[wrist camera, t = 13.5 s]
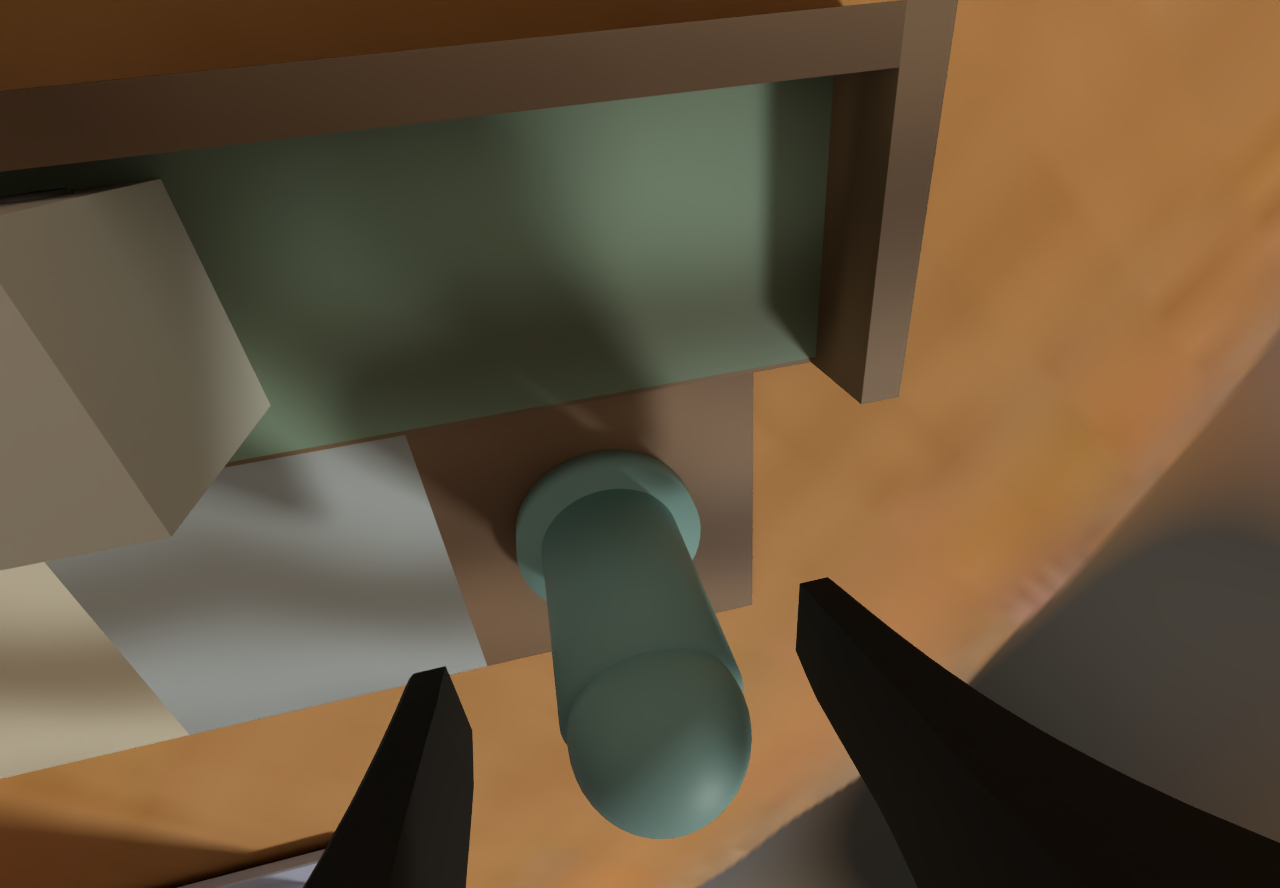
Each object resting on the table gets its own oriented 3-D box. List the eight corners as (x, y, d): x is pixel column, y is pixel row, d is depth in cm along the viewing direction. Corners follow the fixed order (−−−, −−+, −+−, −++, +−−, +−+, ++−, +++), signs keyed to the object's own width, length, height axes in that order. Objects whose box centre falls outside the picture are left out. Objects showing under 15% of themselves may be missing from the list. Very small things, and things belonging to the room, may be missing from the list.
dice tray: (827, 343, 14) (898, 397, 12) (-348, 551, 11) (-596, 683, 9) (851, 19, 11) (958, -6, 8) (-811, 192, 8) (-1433, 235, 5)
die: (270, 405, 11) (168, 540, 8) (36, 446, 11) (-185, 609, 7) (158, 173, 9) (-51, 218, 6) (-140, 211, 9) (-569, 284, 5)
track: (748, 597, 18) (752, 604, 18) (-137, 801, 15) (-149, 813, 15) (748, 357, 14) (753, 362, 14) (-474, 573, 11) (-497, 584, 11)
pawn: (695, 571, 17) (815, 854, 10) (534, 608, 16) (558, 931, 10) (687, 433, 14) (835, 693, 8) (496, 470, 14) (498, 781, 7)
